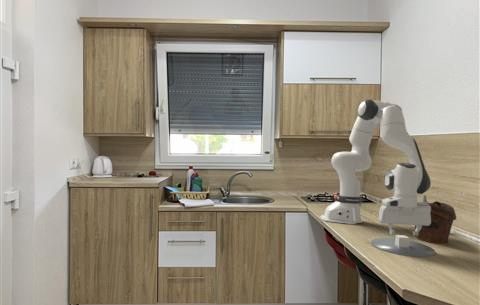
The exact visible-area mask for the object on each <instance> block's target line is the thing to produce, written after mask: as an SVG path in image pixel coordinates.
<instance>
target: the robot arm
mask: <svg viewBox="0 0 480 305" xmlns="http://www.w3.org/2000/svg"><path fill="white" fill-rule="evenodd" d="M357 115H358V116H357V117H356V120H355V122H354V124H353V127H352V129H351V133H350V135H349V139H348V140H349V143H350V144H351V146H352V147H351V151H339V152H336V153H334V154H332V157H331V160H330V161H331V166H332V168H333V169H334V170H335V171H336V173H337V175H338V178H339V194H338V195H337V194H334V195H333V198H334V199H335V201H334V202H332V203H331V204H329V205H328V206H326V208H325V210H324V214H322V215H320V219H321V220H322V221H325V222H329V223H336V224H337V223H340V224H348V225H356V224H360V223H362V222H363V221H362V220H363V219H362V215H361V205H362V197H361V189H362V188H361V186H362V183H361V181H360V180H359V179H358V178H357V175H356V172H364V171H367V170H369V169H370V168H372V162H373V160H372V157H371V156H370V144H371V141H372V138H373V136H374V134H375V131H376V127H377V126H378V124H379V132H380V138H381V140H382V141H383V143H384V144H386V146H388V147H390V148H394V149H397V150H399V151H401V152H403V153H405V155H407V158H408V160H409V162H410V163H409V162H399V163H397V164H396V165H395V166H396V167H395V168H394V169H392V170H389V171H387V172H385V174H384V179H383V180H384V182H383V186H384V187H385V189H387V190H388V191H391V192H394V193H393V196H390V197H387V198H383V199H382V200H381V204H382V205H381V206H380V208H379V211H378V221H379V222H380V223H381V224H387V227H388V229H389V234H390V235H395V236H396V230H394V229H393V225H407V226H410V225H411V226H415V225H416V227H417V228H416V230H415V229H414V230H412V235H413V236H414V237H416V236H418V232H419V231H420V229H421V227H422V225H423V226H429V225H430V224H431V215H430V212H431V206H430V205H429V204H427V203H419V202H418V195H422V194H424V193H426V192H427V191H429V189H430V188H431V185H432V184H431V178H430V176H429V174H428V172H427V169H426V167H425V164H424V161H423V158H422V154H421V153H420V149H419V145H418V144H417V141H416V139H415V138H413V137H412V136H411V135H410V133H409V132H408V131H407V130H408V129H407V128H406V121H405V117H404V113H403V110H402V107H401V106H400V105H398V104H395V103H391V102H389V101H384V100H373V99H363V100H362V101H361V102H360V104H359V105H358V107H357ZM423 205H424V206H423ZM427 205H428V206H427Z"/></svg>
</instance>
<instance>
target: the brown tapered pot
mask: <svg viewBox="0 0 480 305" xmlns="http://www.w3.org/2000/svg"><path fill="white" fill-rule="evenodd" d="M427 204H429V205H430V206H431V212H430V215H431V224H430V225H429V226H423V225H422V227H421V229H420V231H419V232H418V236H415V237H416V239H417V240H420V241H423V242H427V243H433V244H445V243H448V242H449V237H450V233H451V230H452V226H453V223H454V221H456V220H457V215H456V210H455V209H454V207H453V206H452V205H450V204H448V203H444V202H439V201H434V202H429V203H427ZM423 206H424V205H423ZM427 206H428V205H427ZM416 228H417V227H416V225H414V231H415V230H416Z"/></svg>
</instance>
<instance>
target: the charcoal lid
mask: <svg viewBox="0 0 480 305" xmlns="http://www.w3.org/2000/svg"><path fill="white" fill-rule="evenodd" d="M394 237H395V238H394ZM394 237H378V238H373V239H372V240H371V241H370V244H371V245H372V246H373V247H374V248H376V249H378V250H380V251H383V252H387V253H389V254H390V253H391V254H395V255H399V256H405V257H412V258H413V257H415V258H424V257H425V258H427V257H432V256H434V255H435V254H436V251H435V249H434V248H432V247H430V246H428V245H426V244H423V243H420V242H418V241H413V240H410V237H408V236H407V235H404V234H403V235H402V234H401V235H400V234H395V236H394Z"/></svg>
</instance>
